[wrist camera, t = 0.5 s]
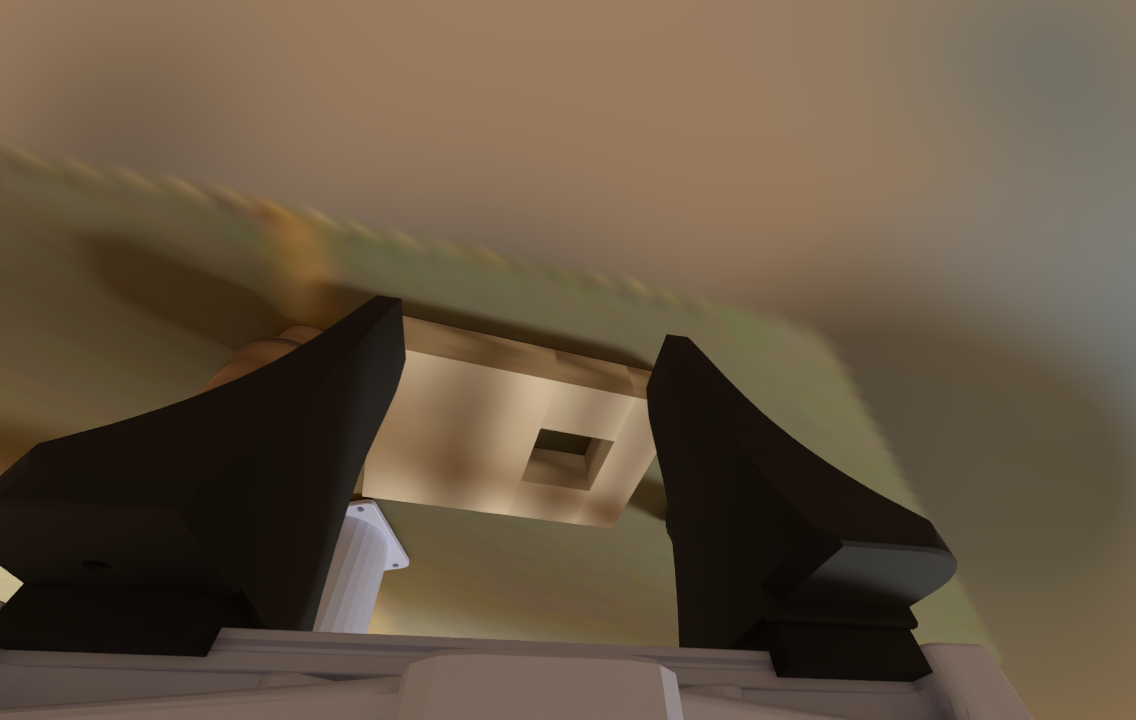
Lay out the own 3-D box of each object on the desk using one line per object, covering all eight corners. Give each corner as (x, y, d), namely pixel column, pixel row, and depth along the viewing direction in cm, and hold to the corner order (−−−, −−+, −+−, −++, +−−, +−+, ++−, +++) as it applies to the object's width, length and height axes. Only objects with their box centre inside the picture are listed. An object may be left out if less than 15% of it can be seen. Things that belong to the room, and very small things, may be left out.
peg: (287, 389, 25) (216, 488, 19) (242, 318, 22) (144, 407, 17) (368, 377, 25) (321, 472, 19) (333, 304, 22) (267, 388, 17)
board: (376, 458, 29) (362, 496, 26) (393, 313, 23) (377, 343, 20) (605, 492, 32) (612, 528, 30) (668, 375, 27) (683, 407, 24)
